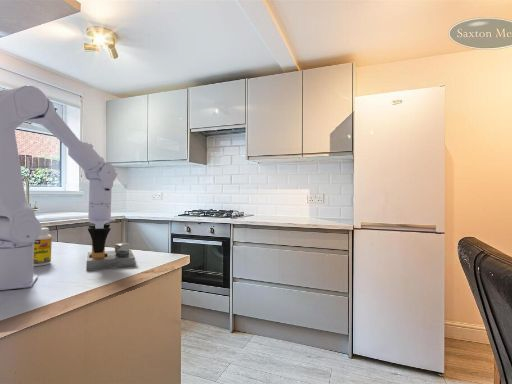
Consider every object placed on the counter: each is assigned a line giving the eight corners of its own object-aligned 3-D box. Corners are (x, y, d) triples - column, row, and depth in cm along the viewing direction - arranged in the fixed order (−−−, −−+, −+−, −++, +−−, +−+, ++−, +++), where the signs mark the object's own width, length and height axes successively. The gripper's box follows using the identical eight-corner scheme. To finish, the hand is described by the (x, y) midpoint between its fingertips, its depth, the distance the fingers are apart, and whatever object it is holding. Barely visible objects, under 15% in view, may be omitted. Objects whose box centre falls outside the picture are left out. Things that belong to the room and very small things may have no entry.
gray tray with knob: (86, 270, 77) (86, 249, 77) (87, 260, 88) (88, 242, 88) (134, 266, 83) (135, 247, 83) (130, 257, 94) (131, 240, 94)
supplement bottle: (25, 267, 78) (26, 230, 78) (27, 263, 83) (28, 227, 83) (50, 265, 81) (51, 229, 81) (51, 261, 86) (52, 226, 86)
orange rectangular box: (91, 266, 82) (92, 241, 82) (91, 263, 85) (92, 239, 85) (104, 265, 83) (104, 241, 83) (104, 262, 86) (104, 239, 86)
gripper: (116, 205, 80) (115, 254, 80) (114, 202, 92) (112, 245, 92) (87, 205, 76) (85, 256, 76) (88, 202, 89) (87, 246, 89)
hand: (98, 250), depth 84 cm, fingers open, 5 cm apart
